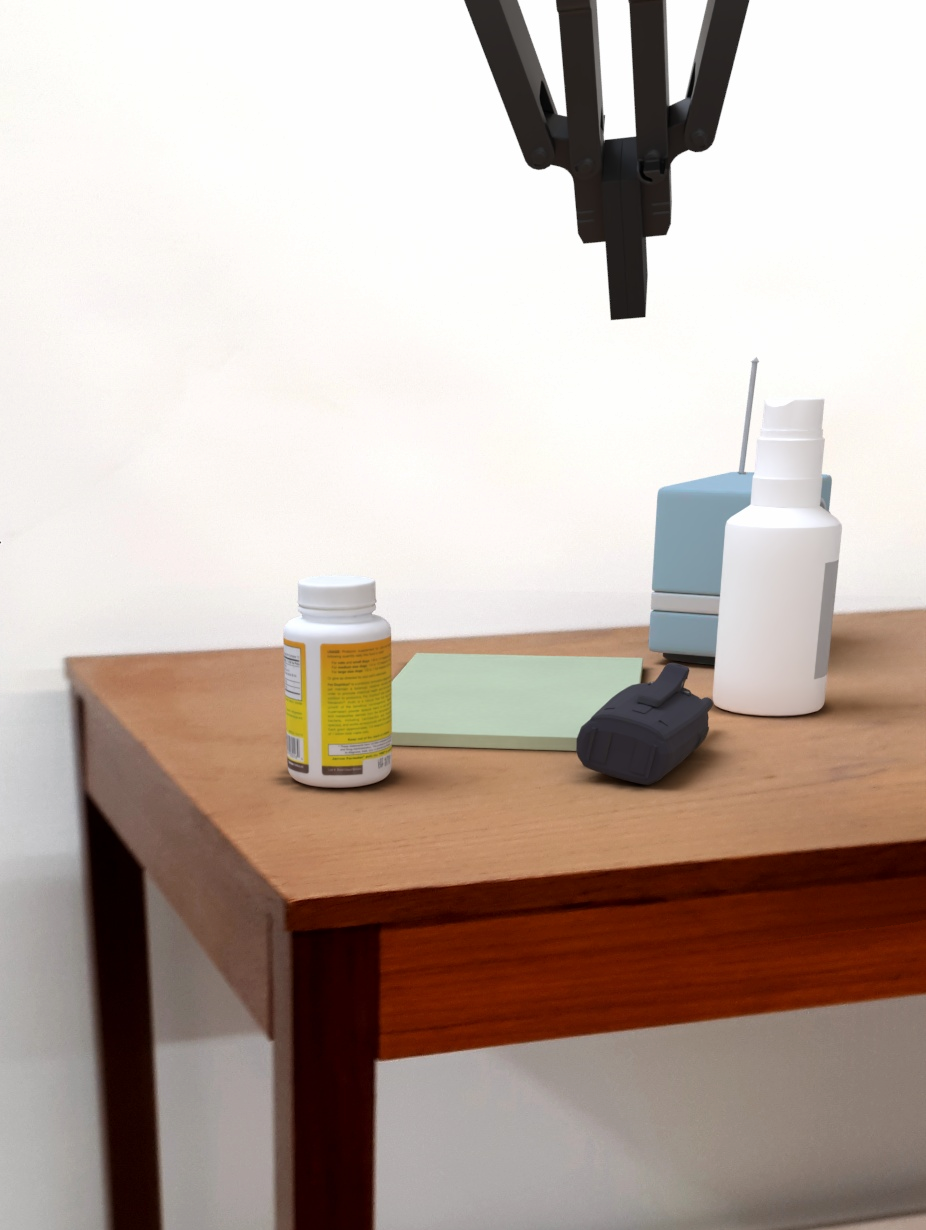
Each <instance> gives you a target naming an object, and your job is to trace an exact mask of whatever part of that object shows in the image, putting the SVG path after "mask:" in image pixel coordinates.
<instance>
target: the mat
mask: <svg viewBox="0 0 926 1230" xmlns="http://www.w3.org/2000/svg"><path fill="white" fill-rule="evenodd" d="M643 668H644V657H629V656H627V657H624V656H623V657H620V656H581V655H579V656H575V655H535V654H534V655H530V654H529V655H528V654H527V655H525V654H488V653H487V654H484V653H483V654H482V653H442V652H441V653H439V652H438V653H436V652H435V653H434V652H428V653H426V652H416V653H415V654H414V655H413V656H412V658H410V660H409V661H408V662H407V663H406V664H405V666H403V668H402V669H401V671H400V672H399V673H398V674H397V675H395V677H394V678H393V680H392V746H403V747H405V746H407V747H434V748H435V747H436V748H467V749H468V748H469V749H497V750H498V749H499V750H502V749H503V750H528V751H530V750H532V751H534V750H535V751H559V752H560V751H565V752H576V742H577V737H578V734H579V732H580V729H581V727H582V726H583V725H584V724H585V723H586V722H588V721H589V720H590V719H591V717H592V716H593V715H594V714H595V713H596V712H597V711H598V710H599V709H600V708H601V707H603V706H604V705H605V704H606V703H607V702H608V701H609V700H610V699H611V698H612V697H614V696H615V695H616V694H618V693H619V692H621V691H622V690H624V689H625V688H627V687H629V686H631V685H634V684H640V683H642V677H643V676H642V675H643V670H644V669H643Z"/></svg>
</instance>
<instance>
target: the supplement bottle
mask: <svg viewBox="0 0 926 1230" xmlns="http://www.w3.org/2000/svg"><path fill="white" fill-rule="evenodd" d="M376 592H377V591H376V580H375V579H374V578H372V577H369V576H363V575H354V574H353V575H352V574H351V575H349V574H347V575H346V574H333V575H332V574H331V575H330V574H329V575H327V574H326V575H317V576H315V575H314V576H308V577H304V578H302V579H299V580H298V583H297V601H296V603H297V605H298V606H297V612H298V613H300V614H301V615H299V616H296V617H293V618H291V619H290V620H288V621H287V622H286V624H285V625H284V627H283V638H282V639H283V667H284V700H285V706H284V707H285V727H286V729H285V730H286V731H285V733H286V735H285V736H286V762H287V771H288V773H289V775H290V777H291V778H293V779H294V780H295V781H296V782H299V783H301V784H304V785H307V786H311V787H317V788H318V787H319V788H332V789H333V788H334V789H338V788H339V789H340V788H341V789H342V788H355V787H357V788H358V787H363V786H368V785H372V784H375V783H378V782H380V781H383V780H384V779H386V778H387V777H388V776H389V774H390V773H391V771H392V767H393V766H392V765H393V745H392V681H393V680H392V678H393V677H392V676H393V675H392V628H391V624H390V622H389V620H387V619H386V618H385V617H383V616H381V615H378V614H373V612H374V611H376V609H377V604H376V603H377V601H378V600H377V595H376V594H377V593H376Z"/></svg>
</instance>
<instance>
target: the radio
mask: <svg viewBox="0 0 926 1230" xmlns="http://www.w3.org/2000/svg"><path fill="white" fill-rule="evenodd" d="M750 363H751V368H750V375H749V376H750V377H749V384H748V391H747V392H748V393H747V401H746V410H745V417H744V424H743V425H744V426H743V433H742V443H741V450H740V459H739V465H738V466H739V467H738V471H729V472H726V473H725V472H724V473H719V474H716V475H712V476H711V475H710V476H707V477H703V478H698V479H692V480H689V481H684V482H679V483H675V484H670V485H666V486H662V487H660V488H659V489H658V490H657V496H656V498H657V499H656V512H655V527H654V528H655V529H654V546H653V559H652V560H653V562H652V565H653V566H652V579H651V590H652V591H653V592H651V595H650V597H651V598H650V609H651V611H650V614H649V628H648V629H649V631H648V650H649V651H650V652H653V653H661V654H662V657H663V658H664V659H666V660H669V661H674V662H675V661H676V662H683V663H691V664H701V665H710V666H711V665H712V666H715V657H716V644H717V631H718V617H719V604H720V591H721V577H722V564H723V551H724V538H725V526H726V522H727V521H728V520H729V519H730V517H732V516H734V515H735V514H737V513H738V512H740V511H742V510H743V509H745V508H746V507H748V506H749V505H750V504H751V492H752V480H753V475H754V473H755V471H745V468H746V459H747V451H748V445H749V444H748V443H749V436H750V435H749V434H750V427H751V419H752V412H753V403H754V395H755V388H756V387H755V386H756V380H757V379H756V377H757V372H758V371H757V370H758V363H760V361H759V359H758V357H757V356H756V357H754V358H753V360H751V361H750ZM821 475H822V477H823V479H822V489H821V500H820V506H821V507H822V508H823V509H825V510H826V511H828V512H829V513H830V514H832V513H831V511H830V505H831V495H832V484H833V477H832V476H831V474H825V473H822V474H821Z"/></svg>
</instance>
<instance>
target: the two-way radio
mask: <svg viewBox="0 0 926 1230" xmlns="http://www.w3.org/2000/svg"><path fill="white" fill-rule="evenodd" d="M689 674H690V667H688V666H687V665H684V664H680V663H677V662H668V663H666V665H665V666H663V669H662V671H661V672H660V674H659V675H658V676H657V678H656V679H655V680H654V681H650V682H641V683H640V684H634V685H631V686H629V687H627V688H625V689H624V690H622V691H621V692H619V693H618V694H616V695H615V696H614V697H612V698H611V699H610V700H609V701H608V702H607V703H606V704H605V705H604V706H603V707H601V708H600V709H599V710H598V711H597V712H596V713H595V714H594V715H593V716H592V717H591V719H590V720H589V721H588V722H586V723H585V724H584V725H583V726H582V727H581V729H580V732H579V734H578V737H577V742H576V751H575V752H576V756H577V758H578V760H579V761H580V762H581V764H582V766H583V767H585V768H587V769H589V770H591V771H594V772H598V773H600V774H602V775H605V776H609V777H612V778H615V779H619V780H622V781H627V782H631V783H635V784H640V785H644V786H645V785H646V786H649V785H652V784H655V783H656V782H658V781H660V780H662V779H663V778H664V777H665V776H666V775H667V774H669V773H670V772H671V771H673V769H675V768H676V767H678V765H680V764H681V763H682V762H683V761H684V760H685V759H686V758H688V756H690V754H692V753H693V752H694V751H695V750H697V749H698V748H699V747H700V746H701V745H702V744H703V743H704V742H705V740H706V738H707V737H708V736H707V735H708V733H709V730H710V726H709V711H710V710H711V709H712V707H713V705H714V702H713V699H712V698H710V697H707V696H706V697H705V696H704V697H703V698H701V697H699V696H698V695H696V694H694V693H692V691H691V690H690V689H688V688H686V687H685V683H686V680H688V677H689Z"/></svg>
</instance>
